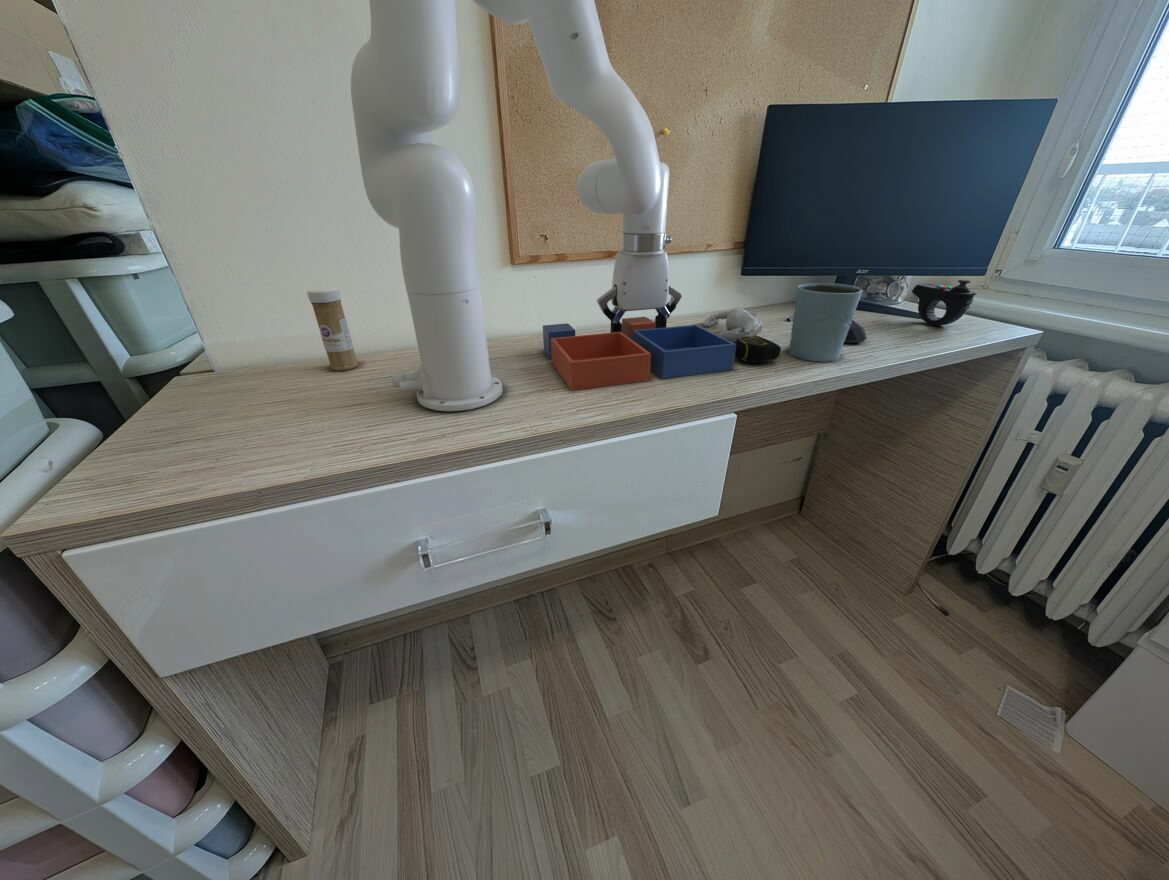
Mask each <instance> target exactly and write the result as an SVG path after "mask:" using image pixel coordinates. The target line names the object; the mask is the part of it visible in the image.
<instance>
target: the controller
mask: <svg viewBox="0 0 1169 880" xmlns="http://www.w3.org/2000/svg"><path fill="white" fill-rule="evenodd" d="M957 283H959V284H958V285H956V286H951V285H950V286H949V285H947V286H944V285H942V284H939V285H936V284H929V283H918V284H916V285H915V286H914V287H913V289H912V290H911V293H912V294H913V295H914V296H916V297H917V298H918V303H917V304H918V305H917V312H918V315H919V317H920V318H921V320H922V321H923V322H924V323H926V324H928V325H931V326H937V327H938V326H946V325H950V324H953V323H955V322H957V321H958V320H959V319H961V318H962V317H963V316H964V314H965V313H966V312H967V311H968V310H969V309H970V308H971V307H970V306H971V304H972V303H973V301H974V297H975V296H976V295H977V294H978V293H977V292H975V291H971V289H970V288H969V287H968V285H967V284H970V283H971V280H969V279H958V280H957ZM940 302H943V303H944V305H945V308H946V309H945V312H944V314H943V316H942V317H941V318H939V317H938V316H937V315H936V313H935V309H936V307H937V305H938V304H939V303H940Z"/></svg>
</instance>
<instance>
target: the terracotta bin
mask: <svg viewBox="0 0 1169 880" xmlns="http://www.w3.org/2000/svg"><path fill="white" fill-rule="evenodd" d="M551 358H552V359H551V365H553V367H554V369H556V372H558V373H559V375H560V377H561V378H562V380H563V381H564V382H565V384H566V385H567V387H568V388H569V389H570V390H571V391H576V390H585V389H593V388H601V387H608V386H616V385H623V384H633V383H640V382H647V381H650V374H651V369H650V363H651V353H649V352H648V351H647V350H645V349H644V348H642V347H641V346H640V345H638V344H637V343H636V342H634V341H633V340H631V339H630V338H629V337H627V336H626V335H625V334H623V333H622V332H612V333H611V332H604V333H592V334H591V333H590V334H583V335H575V336H570V337H560V338H551Z"/></svg>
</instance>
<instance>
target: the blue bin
mask: <svg viewBox="0 0 1169 880" xmlns="http://www.w3.org/2000/svg"><path fill="white" fill-rule="evenodd" d="M632 340H633V341H634V342H636V343H637V344H638V345H640V346H641V347H642V348H644V349H645V350H647V351H648V352H649V353H651V363H650V371H652V372H653V373H654V374H655V375H657V376H658V377H660V378H661V379H662V380H663V379H670V378H678V377H687V376H694V375H702V374H710V373H717V372H718V373H719V372H725V371H726V372H727V371H732V370H733V367H734V361H735V357H736V356H735V350H736V344H735V343H734V342H731V341H729V340H727V339H725V338H722V337H720V336H718V334H716V333H715V332H712V331H710V330H708V329H706V328H704V327H702V326H700V325H698V324H689V325H688V324H687V325H677V326H668V327H667V326H666V327H665V328H655V329H644V330H634V331H633V334H632Z"/></svg>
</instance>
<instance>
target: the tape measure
mask: <svg viewBox="0 0 1169 880" xmlns="http://www.w3.org/2000/svg"><path fill="white" fill-rule="evenodd" d="M735 344H736V350H735V356H734V357H735V358H737V359H739V360H742V361H744V362H746V363H748V364H750V363H760V364H761V363H766V362H769V361H773V360H776V359H778V358H779V357H780V355H781V352H782V347H781V346H779V344H778V343H775V342H774V341H772V340H769V339H767V338H764V337H762V336H759V335H756V336H742V337H739V338H738V339H737V340H736V342H735Z"/></svg>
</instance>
